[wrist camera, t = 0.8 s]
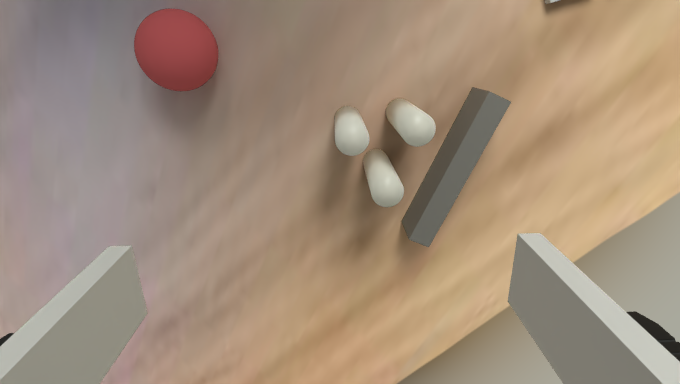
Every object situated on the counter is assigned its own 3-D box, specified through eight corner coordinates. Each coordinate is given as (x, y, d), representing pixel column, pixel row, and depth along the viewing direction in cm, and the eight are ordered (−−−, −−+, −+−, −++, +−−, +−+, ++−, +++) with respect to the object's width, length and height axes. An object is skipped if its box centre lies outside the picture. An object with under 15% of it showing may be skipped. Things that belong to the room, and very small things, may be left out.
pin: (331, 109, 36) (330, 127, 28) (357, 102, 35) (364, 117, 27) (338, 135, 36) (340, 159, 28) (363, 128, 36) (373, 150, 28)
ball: (142, 24, 33) (103, 18, 27) (210, 3, 33) (185, -7, 27) (171, 95, 35) (140, 104, 29) (236, 76, 34) (218, 81, 29)
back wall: (419, 228, 40) (428, 247, 36) (401, 221, 39) (408, 239, 36) (492, 96, 35) (511, 101, 32) (472, 87, 35) (489, 91, 31)
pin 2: (382, 102, 35) (397, 117, 27) (409, 94, 35) (431, 108, 27) (389, 128, 36) (405, 150, 28) (414, 121, 36) (438, 141, 28)
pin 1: (360, 152, 37) (367, 181, 29) (385, 145, 37) (400, 172, 29) (366, 176, 38) (375, 210, 30) (391, 170, 38) (407, 202, 30)
